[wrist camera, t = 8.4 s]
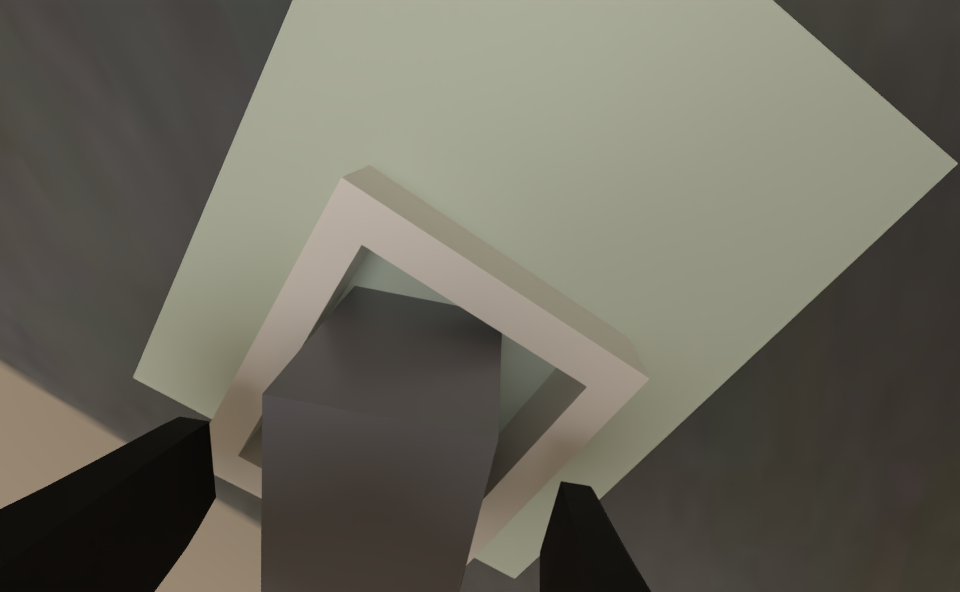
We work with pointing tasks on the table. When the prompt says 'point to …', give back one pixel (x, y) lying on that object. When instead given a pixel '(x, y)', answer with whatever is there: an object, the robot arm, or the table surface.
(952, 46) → the table surface
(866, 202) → the board
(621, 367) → the beige open frame
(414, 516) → the plug
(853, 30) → the table surface
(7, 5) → the table surface
